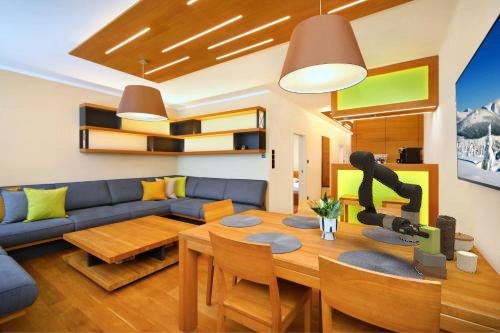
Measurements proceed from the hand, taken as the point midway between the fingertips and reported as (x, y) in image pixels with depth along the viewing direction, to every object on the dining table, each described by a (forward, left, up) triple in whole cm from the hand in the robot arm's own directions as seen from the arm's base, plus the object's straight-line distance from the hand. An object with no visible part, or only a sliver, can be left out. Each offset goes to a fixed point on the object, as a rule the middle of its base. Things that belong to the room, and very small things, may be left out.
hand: (435, 234), depth 93 cm
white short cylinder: (-10, +15, -17) cm, 25 cm away
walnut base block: (-1, -1, -17) cm, 17 cm away
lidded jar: (-35, +22, -17) cm, 45 cm away
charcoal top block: (-1, -1, -12) cm, 12 cm away
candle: (-21, +11, -17) cm, 29 cm away
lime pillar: (-2, -1, -8) cm, 8 cm away
